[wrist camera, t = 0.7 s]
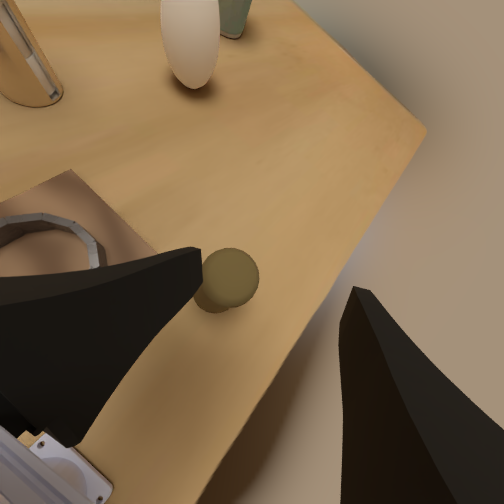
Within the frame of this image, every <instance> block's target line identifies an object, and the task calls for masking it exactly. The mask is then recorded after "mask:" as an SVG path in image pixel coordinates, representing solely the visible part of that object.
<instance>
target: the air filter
mask: <svg viewBox="0 0 504 504" xmlns="http://www.w3.org/2000/svg"><path fill="white" fill-rule="evenodd" d="M0 92H1V93H2V94H3V95H4V96H5V97H6V98H8V99H9V100H11V101H13V102H15V103H18V104H21V105H24V106H30V107H42V106H48V105H51V104H54V103H55V102H57V101H58V100H59V99H60V98H61V96H62V93H63V89H62V85H61V84H60V82H59V80H58V78H57V76H56V75H55V73H54V71H53V69H52V67H51V66H50V64H49V62H48V60H47V59H46V57H45V55H44V53H43V51H42V50H41V48H40V46H39V44H38V42H37V41H36V39H35V37H34V35H33V34H32V32H31V30H30V28H29V26H28V25H27V23H26V21H25V19H24V17H23V16H22V14H21V12H20V10H19V8H18V7H17V5H16V3H15V1H14V0H0Z"/></svg>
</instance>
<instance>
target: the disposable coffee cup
mask: <svg viewBox="0 0 504 504" xmlns="http://www.w3.org/2000/svg"><path fill="white" fill-rule="evenodd" d="M251 2H252V0H218V4H219V15H220V34H222V35H224V36H226V37H228V38H238V37H240V35H241V33H242V32H243V29H244V26H245V22H246V19H247V15H248V12H249V9H250V5H251Z"/></svg>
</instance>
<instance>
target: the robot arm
mask: <svg viewBox="0 0 504 504" xmlns="http://www.w3.org/2000/svg"><path fill="white" fill-rule="evenodd" d="M202 283H203V272H202V258H201V249H198V248H194V247H185V248H180V249H176V250H172V251H168V252H164V253H161V254H157V255H153V256H149V257H146V258H141V259H137V260H133V261H129V262H125V263H120V264H116V265H110V266H105V267H99V268H93V269H87V270H79V271H71V272H63V273H54V274H42V275H28V276H11V277H0V504H104V503H105V502H106V500H107V499H108V498H109V496H110V495H111V493H112V490H113V486H112V484H111V483H110V482H109V481H108V480H107V479H106V478H105V477H103V476H102V475H101V474H100V473H99V472H98V471H97V470H96V469H95V468H94V467H93V466H92V465H91V464H90V463H89V462H88V461H87V460H86V459H85V458H83V457H82V456H81V455H80V454H79V453H78V452H77V451H76V450H75V449H74V448H73V446H76V445H77V444H79V443H80V442H81V441H82V439H83V438H84V436H85V435H86V433H87V431H88V430H89V428H90V427H91V425H92V424H93V422H94V420H95V419H96V417H97V416H98V414H99V413H100V411H101V410H102V408H103V406H104V405H105V403H106V402H107V400H108V399H109V398H110V396H111V395H112V393H113V392H114V390H115V389H116V387H117V386H118V385H119V383H120V382H121V380H122V379H123V377H124V376H125V375H126V373H127V372H128V371H129V369H130V368H131V367H132V365H133V364H134V363H135V361H136V360H137V359H138V357H139V356H140V355H141V353H142V352H143V351H144V350H145V348H146V347H147V346H148V345H149V343H150V342H151V341H152V339H153V338H154V337H155V336H156V335H157V334H158V333H159V331H160V330H161V329H162V328H163V327H164V326H165V325H166V324H167V323H168V322H169V321H170V320H171V319H172V318H173V317H174V316H175V315H176V314H177V313H178V312H179V311H180V310H181V309H182V307H183V306H184V305H185V304H186V303H187V302H188V301H189V300H190V299H191V298H192V297H193V295H194V294H195V293H196V291H197V290H198V289H199V287H200V286H201V284H202ZM338 346H339V362H340V375H341V390H342V401H343V402H342V404H343V443H342V445H343V446H342V475H341V477H342V478H341V500H340V501H341V502H340V504H504V430H503V429H502V428H501V427H500V426H499V425H498V424H497V423H495V422H494V421H493V420H492V419H491V418H490V417H489V416H487V415H486V414H485V413H484V412H483V411H482V410H481V409H480V408H479V407H478V406H477V405H475V404H474V403H473V402H472V401H471V400H470V399H469V398H468V397H467V396H466V395H465V394H464V393H463V392H462V391H461V390H460V389H459V388H458V387H457V386H455V385H454V384H453V383H452V382H451V381H450V380H449V379H448V378H447V377H446V376H445V375H444V374H443V373H442V372H441V371H440V370H439V369H438V368H437V367H436V366H435V365H434V364H433V363H432V362H431V361H430V360H429V359H428V357H427V356H426V355H425V354H424V353H423V352H422V351H421V350H420V349H419V348H418V347H417V346H416V345H415V343H414V342H413V341H412V340H411V339H410V338H409V337H408V336H407V335H406V333H405V332H404V331H403V330H402V329H401V328H400V326H399V325H398V324H397V323H396V322H395V320H394V319H393V318H392V317H391V316H390V314H389V313H388V312H387V311H386V309H385V308H384V307H383V306H382V304H381V303H380V302H379V301H378V299H377V298H376V297H375V296H374V294H373V293H372V292H371V291H370V290H367V289H363V288H359V287H355V286H353V288H352V291H351V293H350V296H349V299H348V301H347V304H346V307H345V310H344V312H343V315H342V318H341V320H340V327H339V345H338ZM26 430H27V431H28V432H29V433H31V434H32V435H33V436H37V435H39V434H40V433H41V432H42V431H44V432H45V434H44V435H42V436H41V437H40V438H39V439H38V440H37V441H36V442H35V443H34V444H33V445H32V446H31V447H30V448H29V449H28V448H27V447H26V446H25V445H23V444H22V443H21V442H20V441H19V440H17V438H18V437H19V436H20V435H21V434H22V433H23V432H24V431H26ZM41 441H44V442H45V445H44V446H41V445H40V442H41ZM99 496H102V497H103V499H102V500H98V497H99Z"/></svg>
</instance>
